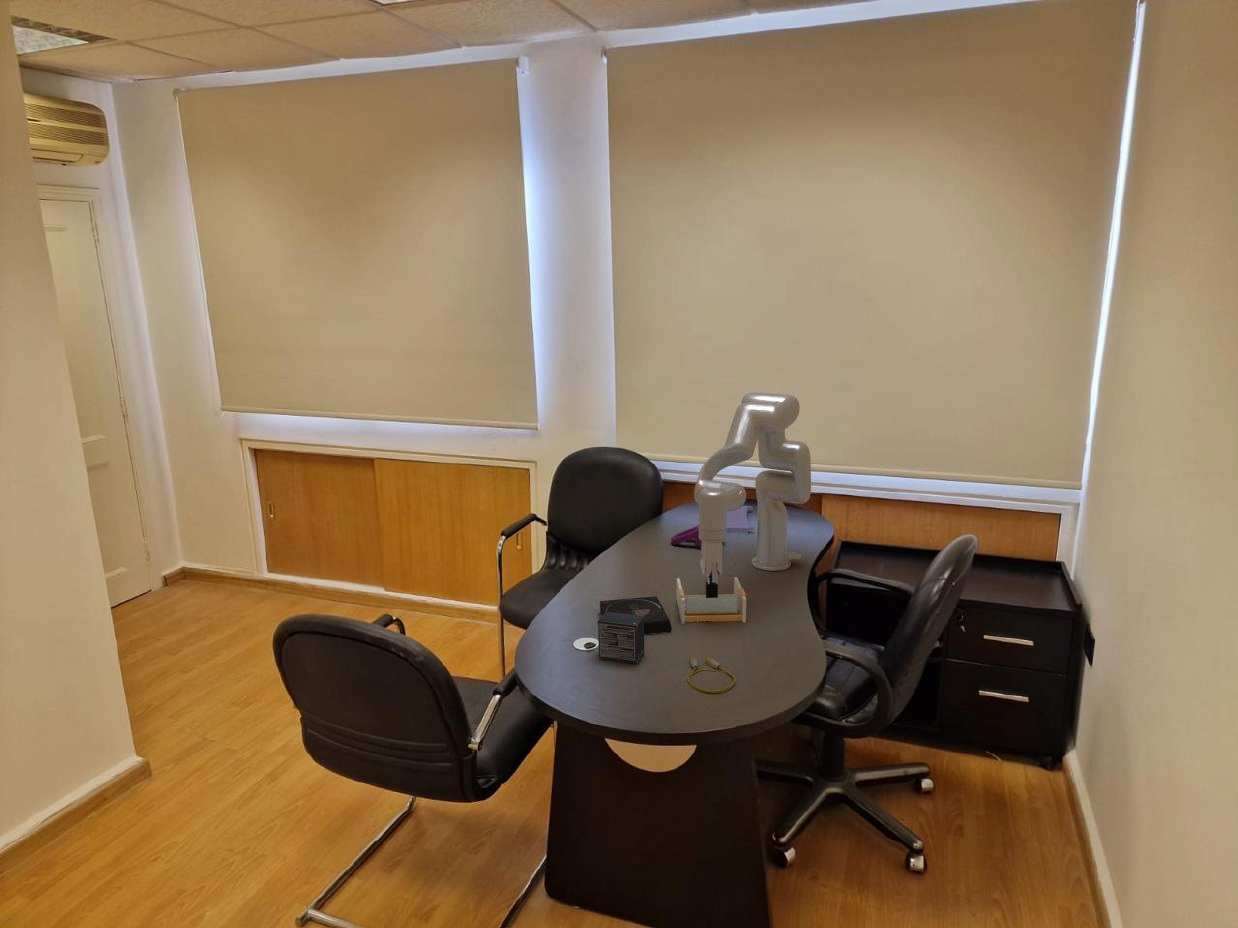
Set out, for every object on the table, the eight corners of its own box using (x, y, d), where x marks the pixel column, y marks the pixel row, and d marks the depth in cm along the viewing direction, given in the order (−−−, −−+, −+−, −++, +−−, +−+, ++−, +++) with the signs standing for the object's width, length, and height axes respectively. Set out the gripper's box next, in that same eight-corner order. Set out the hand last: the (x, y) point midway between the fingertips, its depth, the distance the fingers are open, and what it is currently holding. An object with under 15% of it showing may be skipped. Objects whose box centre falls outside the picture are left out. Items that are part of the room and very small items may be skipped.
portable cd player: (672, 633, 216) (672, 619, 215) (609, 639, 214) (609, 625, 213) (658, 608, 232) (658, 595, 231) (600, 614, 229) (599, 600, 228)
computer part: (752, 511, 323) (714, 510, 325) (752, 501, 322) (714, 500, 324) (754, 535, 295) (713, 534, 297) (754, 524, 294) (713, 523, 296)
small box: (645, 653, 205) (645, 614, 202) (638, 664, 199) (637, 625, 196) (606, 647, 208) (605, 609, 206) (597, 658, 202) (596, 620, 200)
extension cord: (739, 665, 198) (739, 658, 198) (733, 698, 183) (733, 690, 183) (690, 661, 201) (690, 653, 201) (680, 692, 186) (680, 684, 186)
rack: (736, 599, 237) (737, 575, 235) (746, 622, 221) (746, 596, 219) (676, 600, 236) (676, 576, 235) (681, 623, 221) (681, 598, 219)
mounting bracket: (677, 563, 283) (722, 547, 275) (667, 542, 283) (712, 525, 275) (685, 554, 292) (729, 539, 284) (675, 533, 291) (719, 517, 283)
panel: (735, 615, 226) (736, 593, 225) (736, 619, 224) (737, 597, 222) (685, 616, 226) (685, 594, 224) (686, 620, 224) (686, 598, 222)
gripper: (695, 525, 226) (695, 586, 231) (701, 542, 212) (701, 607, 216) (722, 524, 226) (721, 585, 231) (730, 541, 212) (729, 606, 216)
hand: (711, 596), depth 223 cm, fingers closed
